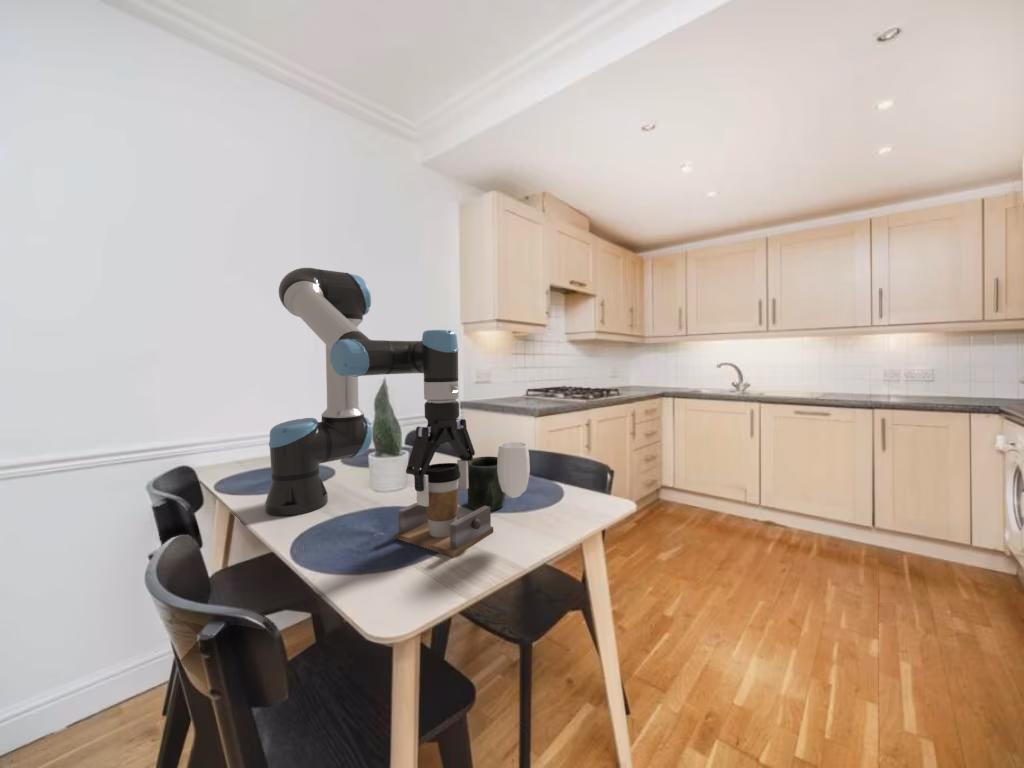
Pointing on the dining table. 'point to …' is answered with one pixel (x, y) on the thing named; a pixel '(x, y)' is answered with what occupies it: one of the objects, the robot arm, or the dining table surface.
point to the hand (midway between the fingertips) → (444, 496)
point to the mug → (484, 484)
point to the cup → (513, 468)
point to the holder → (461, 531)
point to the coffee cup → (442, 497)
